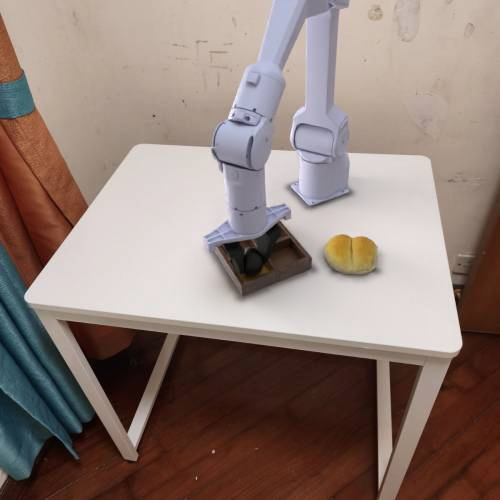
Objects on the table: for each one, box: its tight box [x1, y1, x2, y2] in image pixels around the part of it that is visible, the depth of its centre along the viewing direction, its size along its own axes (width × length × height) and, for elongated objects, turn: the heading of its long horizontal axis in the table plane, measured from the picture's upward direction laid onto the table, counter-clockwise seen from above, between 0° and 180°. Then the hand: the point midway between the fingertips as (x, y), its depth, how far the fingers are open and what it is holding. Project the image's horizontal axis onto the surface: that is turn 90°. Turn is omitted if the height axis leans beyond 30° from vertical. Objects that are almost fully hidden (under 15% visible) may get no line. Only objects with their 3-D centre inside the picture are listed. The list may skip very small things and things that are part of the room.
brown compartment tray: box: [213, 220, 313, 297], centre depth 78 cm, size 13×13×3 cm
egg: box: [243, 247, 263, 276], centre depth 73 cm, size 4×4×5 cm
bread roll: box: [323, 233, 379, 275], centre depth 76 cm, size 8×9×4 cm
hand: (251, 264), depth 74 cm, fingers closed on egg, 4 cm apart
